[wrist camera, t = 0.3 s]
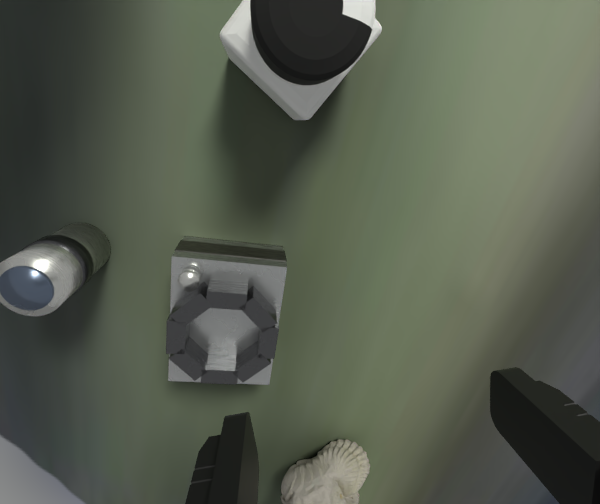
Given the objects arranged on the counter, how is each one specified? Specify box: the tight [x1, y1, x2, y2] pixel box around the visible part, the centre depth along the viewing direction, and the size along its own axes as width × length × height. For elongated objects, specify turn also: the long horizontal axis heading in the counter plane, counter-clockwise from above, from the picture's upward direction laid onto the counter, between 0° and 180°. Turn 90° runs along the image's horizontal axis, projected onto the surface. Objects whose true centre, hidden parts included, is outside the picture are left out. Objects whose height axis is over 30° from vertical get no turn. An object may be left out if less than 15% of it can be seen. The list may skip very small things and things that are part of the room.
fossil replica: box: [280, 439, 370, 504], centre depth 40 cm, size 12×8×10 cm
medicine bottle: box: [220, 0, 382, 120], centre depth 21 cm, size 7×7×12 cm
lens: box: [0, 223, 111, 316], centre depth 26 cm, size 5×5×8 cm
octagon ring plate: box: [166, 236, 287, 385], centre depth 30 cm, size 12×9×7 cm
